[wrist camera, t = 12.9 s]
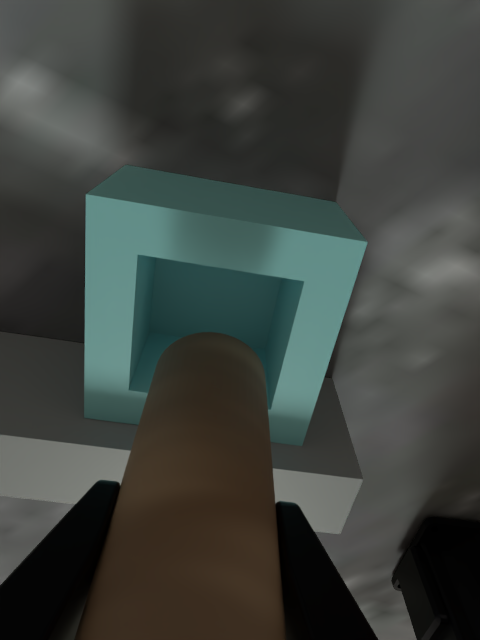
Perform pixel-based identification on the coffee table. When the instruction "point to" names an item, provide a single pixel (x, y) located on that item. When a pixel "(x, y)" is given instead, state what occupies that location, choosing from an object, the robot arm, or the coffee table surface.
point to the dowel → (194, 508)
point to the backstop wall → (117, 438)
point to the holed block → (212, 286)
